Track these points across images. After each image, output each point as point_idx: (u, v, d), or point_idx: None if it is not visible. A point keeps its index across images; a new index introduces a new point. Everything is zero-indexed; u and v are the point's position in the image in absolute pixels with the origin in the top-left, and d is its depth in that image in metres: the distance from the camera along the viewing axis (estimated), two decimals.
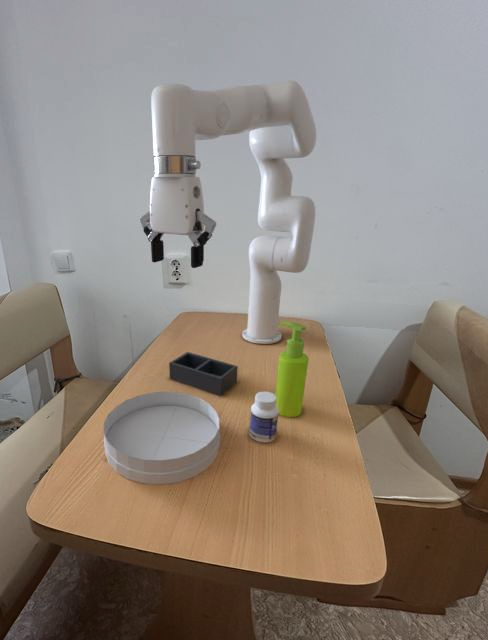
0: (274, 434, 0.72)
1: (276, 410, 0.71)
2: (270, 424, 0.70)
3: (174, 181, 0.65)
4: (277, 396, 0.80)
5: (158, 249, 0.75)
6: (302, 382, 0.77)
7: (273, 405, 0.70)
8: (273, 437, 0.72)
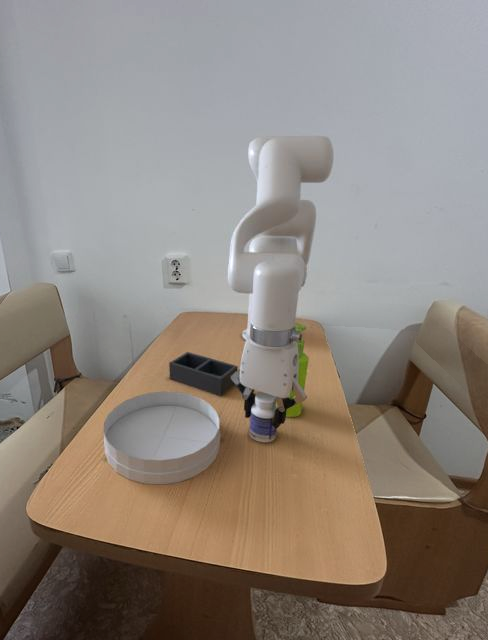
0: (274, 434, 0.72)
1: None
2: (270, 424, 0.70)
3: (274, 351, 0.63)
4: None
5: None
6: (302, 382, 0.77)
7: (273, 405, 0.70)
8: (273, 437, 0.72)
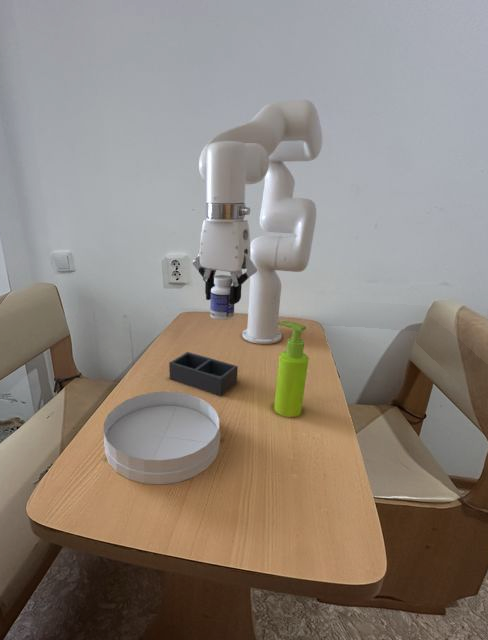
0: (231, 312, 0.81)
1: None
2: (227, 301, 0.79)
3: (226, 225, 0.72)
4: (277, 396, 0.80)
5: None
6: (302, 382, 0.77)
7: (229, 283, 0.78)
8: (230, 315, 0.81)
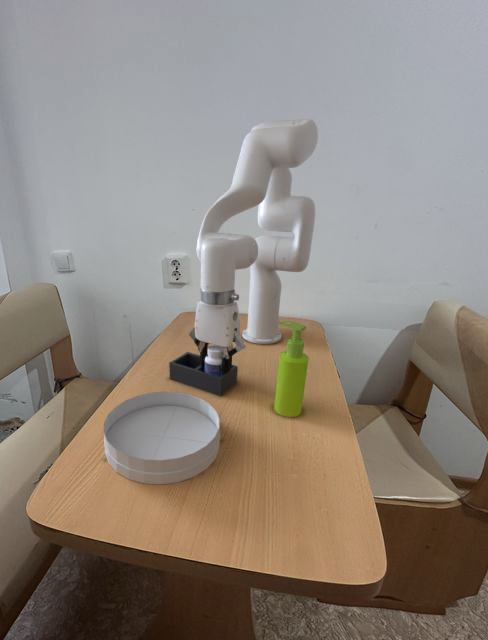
0: None
1: None
2: (219, 370, 0.88)
3: (217, 309, 0.82)
4: (277, 396, 0.80)
5: None
6: (302, 382, 0.77)
7: (221, 355, 0.88)
8: None
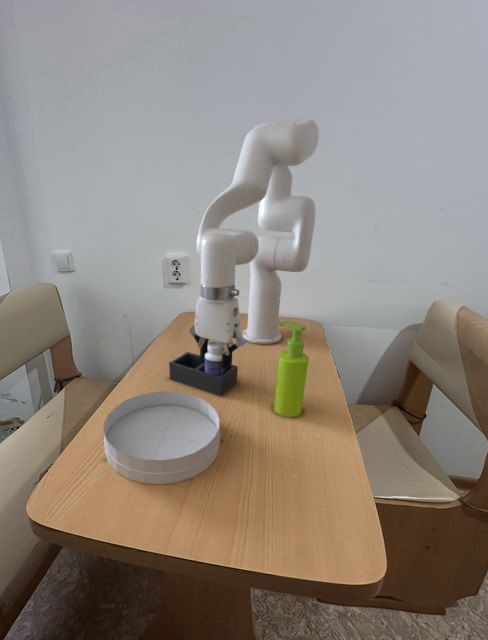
0: None
1: None
2: (219, 366, 0.88)
3: (218, 304, 0.81)
4: (277, 396, 0.80)
5: None
6: (302, 382, 0.77)
7: (221, 351, 0.87)
8: None
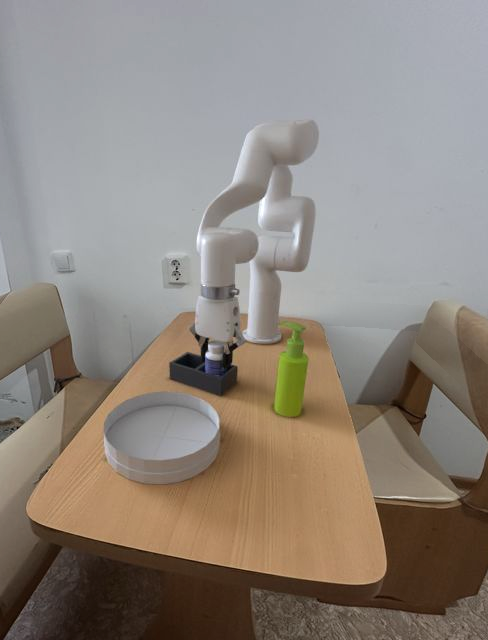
0: None
1: None
2: (220, 365, 0.88)
3: (218, 304, 0.81)
4: (277, 396, 0.80)
5: (206, 351, 0.91)
6: (302, 382, 0.77)
7: (221, 350, 0.88)
8: None
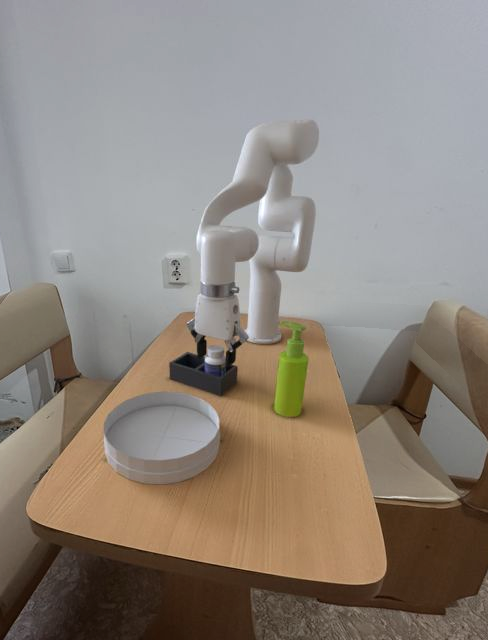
0: None
1: (224, 359, 0.89)
2: (219, 370, 0.89)
3: (218, 302, 0.81)
4: (277, 396, 0.80)
5: (203, 348, 0.91)
6: (302, 382, 0.77)
7: (221, 354, 0.88)
8: None
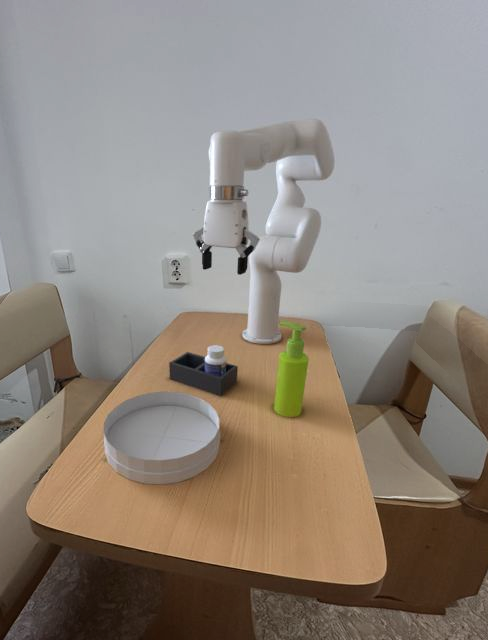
0: None
1: (224, 359, 0.89)
2: (219, 369, 0.89)
3: (227, 205, 0.82)
4: (277, 396, 0.80)
5: (208, 259, 0.92)
6: (302, 382, 0.77)
7: (221, 354, 0.88)
8: None
